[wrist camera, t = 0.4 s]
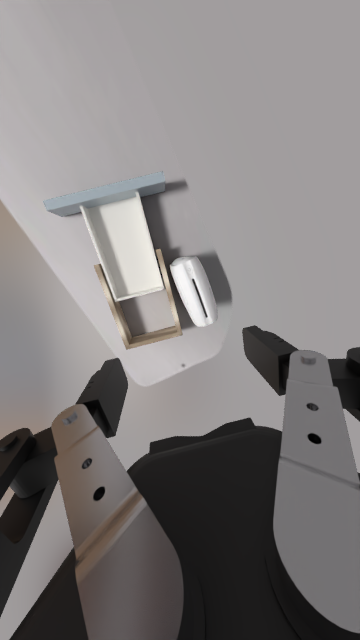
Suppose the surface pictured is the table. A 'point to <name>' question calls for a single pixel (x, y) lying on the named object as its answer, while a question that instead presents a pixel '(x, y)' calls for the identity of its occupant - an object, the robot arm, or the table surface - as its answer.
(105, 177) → the table surface
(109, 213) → the tray
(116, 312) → the dock housing
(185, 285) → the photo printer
